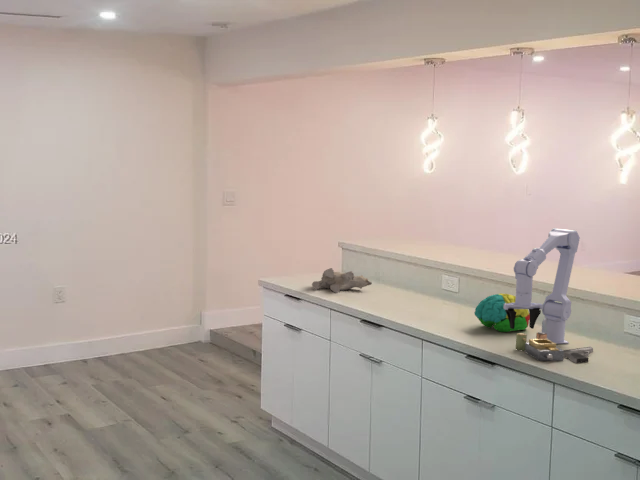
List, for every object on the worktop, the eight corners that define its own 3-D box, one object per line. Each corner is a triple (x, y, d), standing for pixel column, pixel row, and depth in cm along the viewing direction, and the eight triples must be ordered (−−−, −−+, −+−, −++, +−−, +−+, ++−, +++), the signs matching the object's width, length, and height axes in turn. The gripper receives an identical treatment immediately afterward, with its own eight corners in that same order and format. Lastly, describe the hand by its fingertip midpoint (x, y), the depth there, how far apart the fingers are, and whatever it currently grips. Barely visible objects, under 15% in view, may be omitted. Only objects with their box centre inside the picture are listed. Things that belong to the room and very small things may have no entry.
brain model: (492, 335, 296) (496, 298, 295) (464, 325, 313) (467, 290, 312) (538, 333, 306) (542, 297, 305) (508, 323, 323) (511, 289, 322)
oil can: (513, 348, 279) (514, 332, 278) (523, 347, 280) (524, 332, 279) (519, 352, 274) (520, 336, 273) (529, 351, 274) (530, 336, 274)
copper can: (533, 346, 282) (534, 331, 281) (543, 346, 282) (544, 331, 281) (538, 349, 278) (539, 334, 277) (547, 349, 278) (548, 334, 278)
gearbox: (524, 351, 274) (525, 338, 274) (547, 351, 276) (548, 338, 275) (542, 362, 260) (543, 349, 259) (566, 362, 262) (567, 348, 261)
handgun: (613, 359, 268) (588, 351, 279) (613, 354, 268) (588, 346, 279) (577, 364, 261) (552, 356, 271) (577, 359, 260) (553, 350, 271)
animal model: (351, 259, 374) (367, 258, 389) (307, 275, 388) (324, 273, 403) (360, 287, 372) (375, 284, 387) (315, 301, 386) (331, 298, 401)
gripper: (509, 294, 270) (507, 331, 271) (547, 294, 272) (545, 330, 274) (502, 290, 277) (500, 326, 278) (538, 290, 279) (536, 325, 281)
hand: (521, 328), depth 277 cm, fingers open, 7 cm apart
